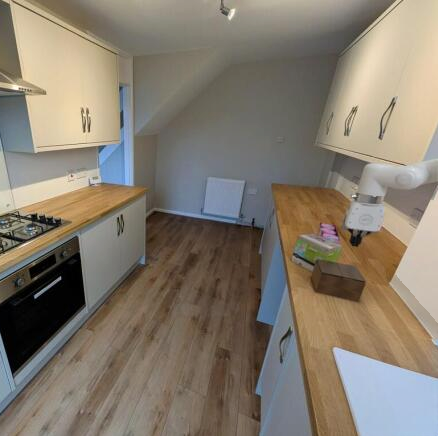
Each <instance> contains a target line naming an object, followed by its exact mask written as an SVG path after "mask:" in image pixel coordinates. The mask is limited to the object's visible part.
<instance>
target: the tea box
mask: <svg viewBox="0 0 438 436" xmlns="http://www.w3.org/2000/svg"><path fill="white" fill-rule="evenodd" d="M342 250H343V245H341V244H340V243H339V244H337V243H334V242H332V241H329V240H327V239H325V238H322V237H320V236H317V234H315V233H312V232H311V233H305V234H300V235H297V238H296V240H295V245H294V249H293V252H292V257H291V261H292V262H293V263H295V264H297V265H299V266H300V267H302V268H304V269H306V270H308V271H309V272H311V273H312V272H313V269H314V265H315V262H316V260H317V259H321V260H326V261H331V262H336V263H338V262H339V258H340V256H341V252H342Z"/></svg>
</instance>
